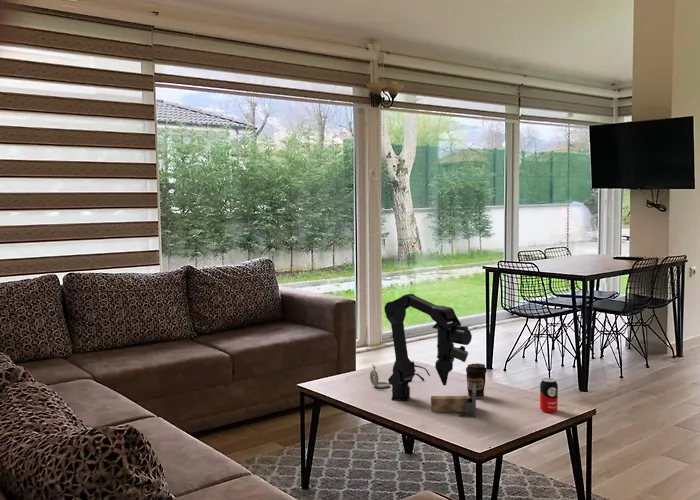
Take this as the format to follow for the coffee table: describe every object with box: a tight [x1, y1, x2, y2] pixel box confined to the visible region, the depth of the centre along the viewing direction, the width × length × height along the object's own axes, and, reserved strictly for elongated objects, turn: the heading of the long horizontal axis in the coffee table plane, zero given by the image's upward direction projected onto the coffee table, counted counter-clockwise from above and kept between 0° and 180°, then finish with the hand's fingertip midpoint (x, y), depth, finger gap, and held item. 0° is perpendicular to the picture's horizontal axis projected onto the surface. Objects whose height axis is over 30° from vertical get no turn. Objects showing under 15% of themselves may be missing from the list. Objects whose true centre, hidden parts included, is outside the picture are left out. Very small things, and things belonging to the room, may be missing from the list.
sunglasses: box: [414, 364, 431, 381], centre depth 307 cm, size 14×16×5 cm
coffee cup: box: [465, 362, 488, 399], centre depth 275 cm, size 9×8×13 cm
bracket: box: [458, 383, 477, 418], centre depth 256 cm, size 6×12×9 cm, turn 169°
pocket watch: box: [369, 364, 390, 389], centre depth 291 cm, size 8×8×10 cm
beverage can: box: [539, 377, 559, 414], centre depth 256 cm, size 6×6×12 cm
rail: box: [430, 395, 469, 413], centre depth 258 cm, size 14×4×5 cm, turn 82°
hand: (445, 381), depth 257 cm, fingers open, 9 cm apart
